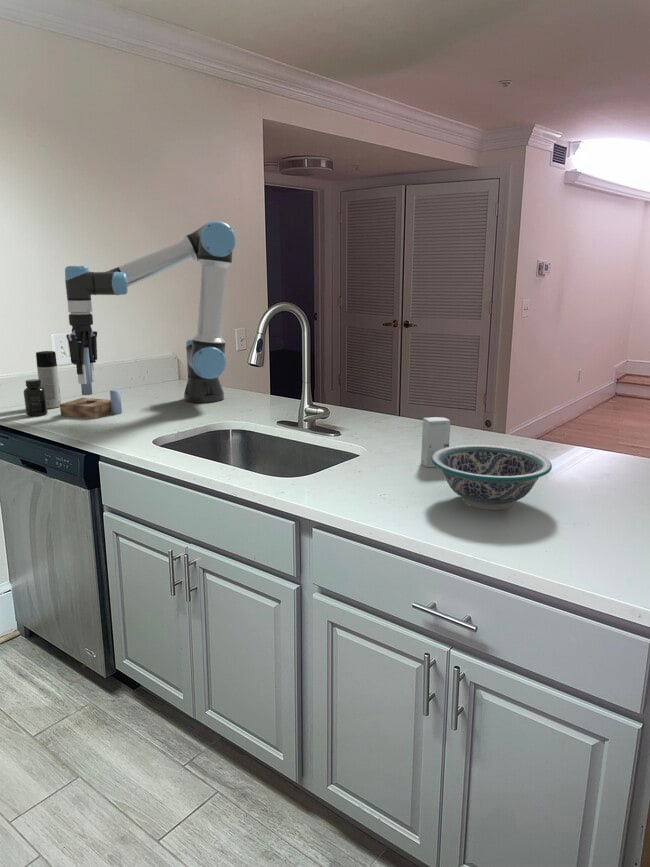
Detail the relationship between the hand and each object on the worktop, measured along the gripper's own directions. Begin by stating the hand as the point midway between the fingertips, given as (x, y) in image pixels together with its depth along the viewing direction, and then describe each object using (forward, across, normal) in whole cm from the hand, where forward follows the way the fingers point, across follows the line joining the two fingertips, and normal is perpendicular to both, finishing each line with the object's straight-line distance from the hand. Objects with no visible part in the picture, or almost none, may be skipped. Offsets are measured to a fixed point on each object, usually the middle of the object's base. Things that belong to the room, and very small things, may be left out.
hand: (86, 382), depth 224 cm
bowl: (+11, +48, +138) cm, 147 cm away
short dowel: (+11, -3, +9) cm, 15 cm away
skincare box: (+11, +24, +123) cm, 126 cm away
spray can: (+11, -5, -20) cm, 23 cm away
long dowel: (+4, 0, 0) cm, 4 cm away
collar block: (+11, 0, 0) cm, 11 cm away
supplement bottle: (+11, +7, -16) cm, 21 cm away
